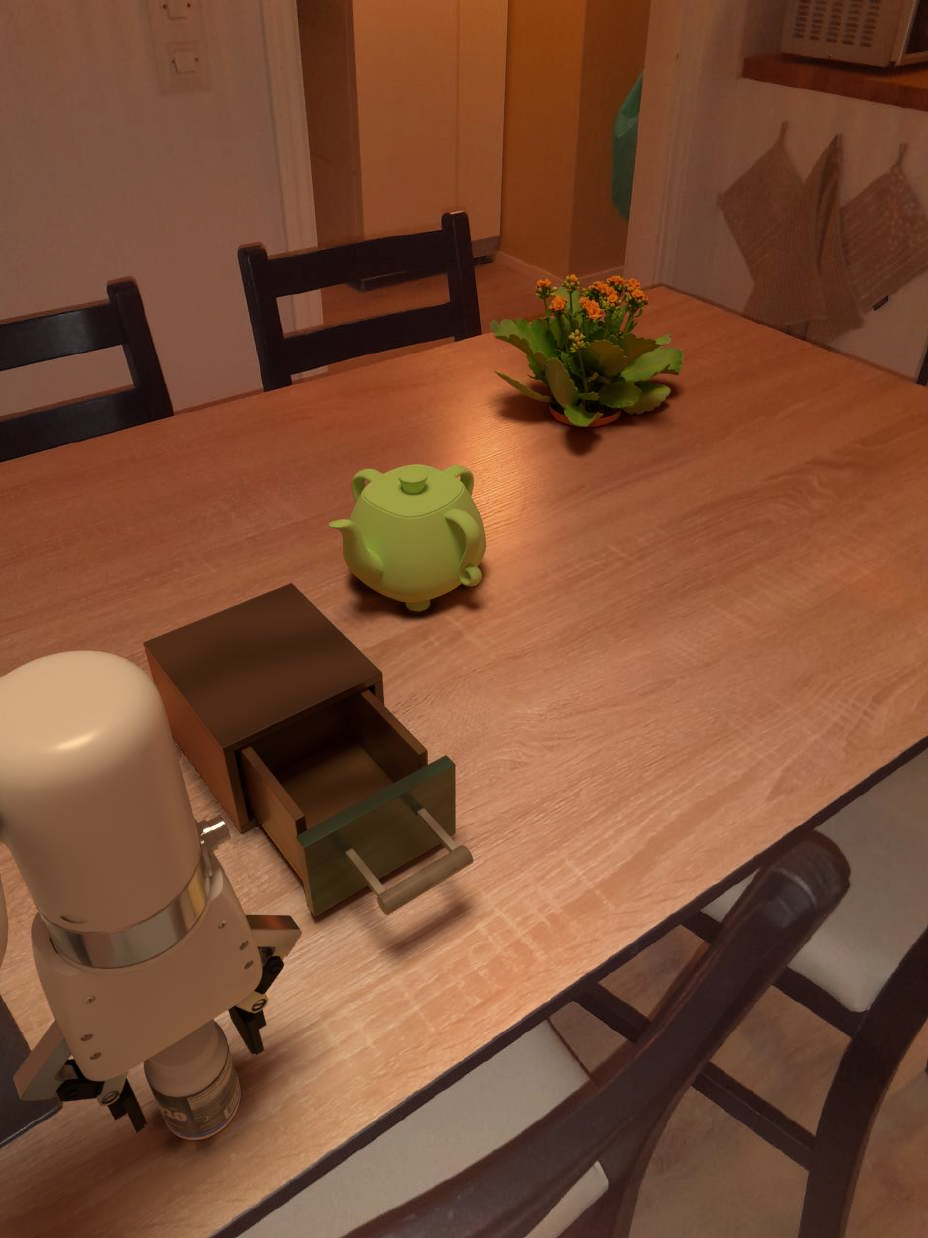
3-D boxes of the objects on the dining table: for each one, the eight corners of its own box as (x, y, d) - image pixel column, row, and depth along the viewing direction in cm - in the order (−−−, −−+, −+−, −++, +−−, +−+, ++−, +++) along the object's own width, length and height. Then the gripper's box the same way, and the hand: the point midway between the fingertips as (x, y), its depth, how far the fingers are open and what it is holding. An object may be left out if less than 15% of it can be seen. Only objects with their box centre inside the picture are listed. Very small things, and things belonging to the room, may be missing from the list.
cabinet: (388, 757, 81) (382, 672, 75) (241, 834, 75) (222, 748, 69) (302, 664, 91) (291, 582, 85) (165, 726, 84) (142, 642, 78)
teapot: (482, 634, 94) (485, 525, 86) (337, 630, 95) (327, 521, 87) (485, 540, 107) (488, 438, 99) (356, 537, 107) (349, 434, 99)
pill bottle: (148, 1101, 59) (117, 1031, 54) (214, 1048, 62) (191, 977, 56) (190, 1160, 57) (162, 1093, 51) (257, 1103, 59) (237, 1033, 54)
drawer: (502, 884, 71) (505, 814, 66) (357, 977, 65) (349, 908, 60) (362, 732, 82) (356, 663, 78) (229, 799, 77) (214, 729, 72)
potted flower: (651, 472, 118) (671, 334, 107) (467, 442, 124) (468, 309, 113) (680, 386, 137) (699, 262, 126) (519, 364, 143) (524, 243, 132)
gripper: (255, 757, 52) (291, 946, 63) (-91, 926, 44) (21, 1108, 55) (326, 849, 47) (351, 1035, 58) (-47, 1057, 39) (66, 1227, 50)
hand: (191, 1069), depth 57 cm, fingers open, 6 cm apart
